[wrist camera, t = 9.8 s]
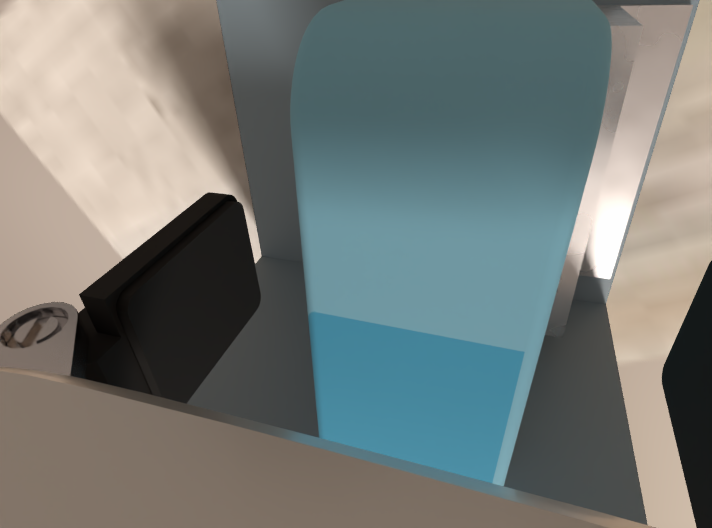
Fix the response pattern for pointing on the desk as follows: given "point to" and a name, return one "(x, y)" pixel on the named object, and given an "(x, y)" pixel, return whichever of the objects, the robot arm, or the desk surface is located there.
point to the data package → (439, 212)
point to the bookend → (621, 140)
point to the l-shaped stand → (289, 306)
